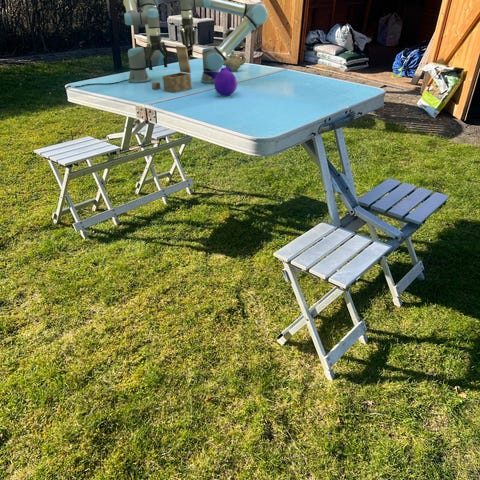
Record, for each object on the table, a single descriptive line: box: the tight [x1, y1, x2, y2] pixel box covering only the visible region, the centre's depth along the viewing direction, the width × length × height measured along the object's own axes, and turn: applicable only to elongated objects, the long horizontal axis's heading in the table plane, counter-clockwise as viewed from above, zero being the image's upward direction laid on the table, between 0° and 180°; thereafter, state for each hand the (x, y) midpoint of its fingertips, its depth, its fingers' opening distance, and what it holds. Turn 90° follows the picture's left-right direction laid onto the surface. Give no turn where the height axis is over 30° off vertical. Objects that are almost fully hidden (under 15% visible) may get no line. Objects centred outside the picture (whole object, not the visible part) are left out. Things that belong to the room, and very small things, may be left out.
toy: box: [202, 66, 238, 97], centre depth 293 cm, size 16×18×27 cm
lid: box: [175, 45, 194, 74], centre depth 308 cm, size 17×10×8 cm
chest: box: [162, 72, 192, 93], centre depth 308 cm, size 16×10×10 cm, turn 136°
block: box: [151, 81, 162, 91], centre depth 314 cm, size 4×4×4 cm
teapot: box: [223, 50, 246, 72], centre depth 364 cm, size 21×12×15 cm, turn 120°
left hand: (158, 68), depth 312 cm, fingers open, 13 cm apart
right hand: (189, 55), depth 308 cm, fingers closed on lid, 2 cm apart
